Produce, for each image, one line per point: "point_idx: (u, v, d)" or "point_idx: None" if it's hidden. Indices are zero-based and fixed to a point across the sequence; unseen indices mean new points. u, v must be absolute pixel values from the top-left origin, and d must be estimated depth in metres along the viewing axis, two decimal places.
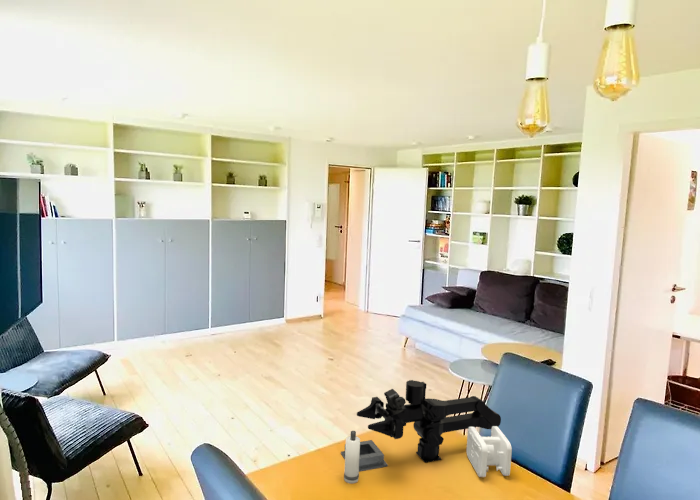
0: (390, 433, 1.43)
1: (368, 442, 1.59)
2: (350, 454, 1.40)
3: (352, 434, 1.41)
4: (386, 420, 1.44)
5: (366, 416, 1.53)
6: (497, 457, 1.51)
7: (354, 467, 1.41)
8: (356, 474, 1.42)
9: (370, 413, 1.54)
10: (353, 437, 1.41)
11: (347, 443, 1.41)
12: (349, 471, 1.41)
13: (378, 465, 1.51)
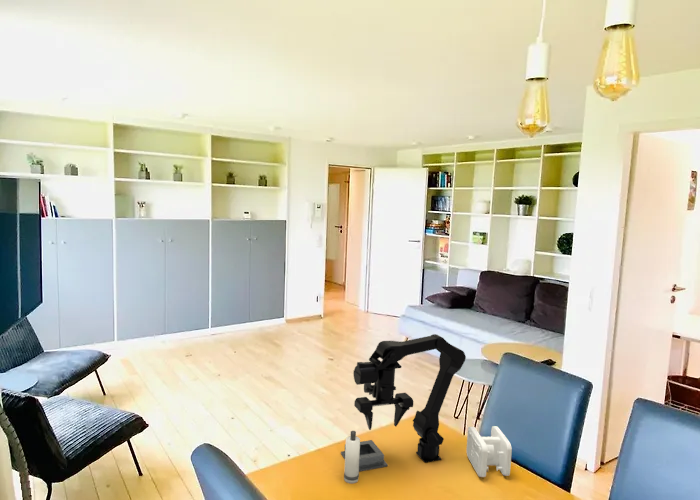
0: None
1: (368, 442, 1.59)
2: (350, 454, 1.40)
3: (352, 434, 1.41)
4: None
5: (398, 417, 1.50)
6: (497, 457, 1.51)
7: (354, 467, 1.41)
8: (356, 474, 1.42)
9: (397, 411, 1.51)
10: (353, 437, 1.41)
11: (347, 443, 1.41)
12: (349, 471, 1.41)
13: (378, 465, 1.51)
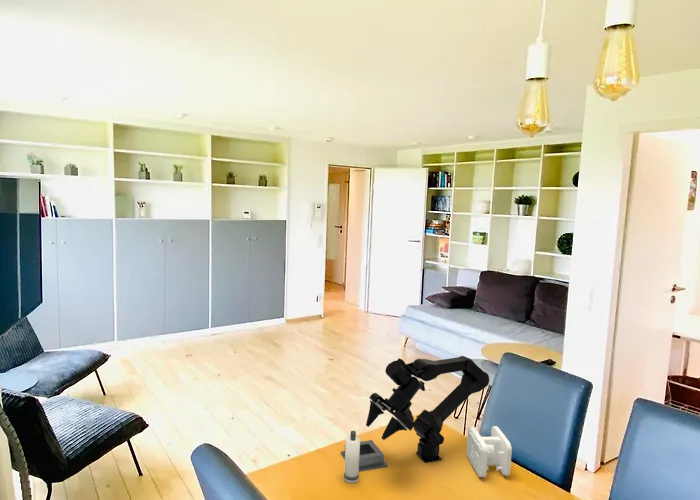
0: None
1: (368, 442, 1.59)
2: (350, 454, 1.40)
3: (352, 434, 1.41)
4: None
5: None
6: (497, 457, 1.51)
7: (354, 467, 1.41)
8: (356, 474, 1.42)
9: None
10: (353, 437, 1.41)
11: (347, 443, 1.41)
12: (349, 471, 1.41)
13: (378, 465, 1.51)
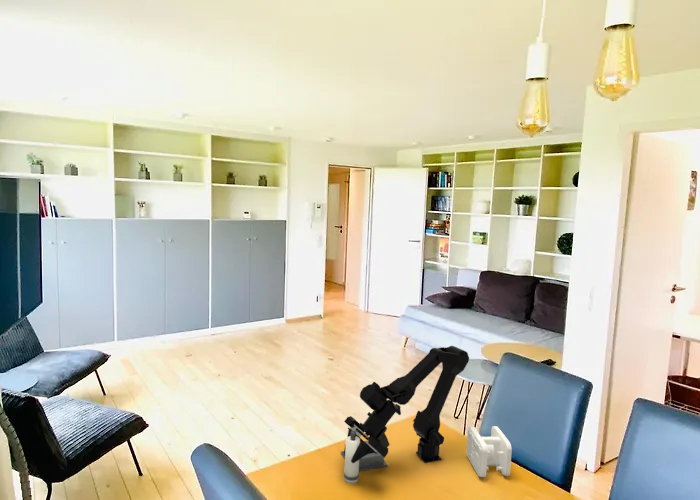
0: None
1: None
2: (350, 454, 1.40)
3: (352, 434, 1.41)
4: None
5: None
6: (497, 457, 1.51)
7: (354, 467, 1.41)
8: (356, 474, 1.42)
9: None
10: (353, 437, 1.41)
11: (347, 443, 1.41)
12: (349, 471, 1.41)
13: (378, 465, 1.51)
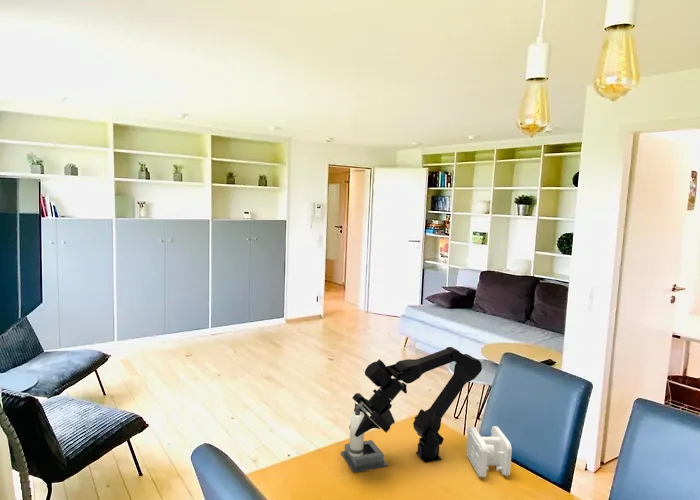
0: None
1: (368, 442, 1.59)
2: (354, 428, 1.45)
3: (356, 409, 1.45)
4: None
5: None
6: (497, 458, 1.51)
7: (358, 441, 1.45)
8: (360, 448, 1.46)
9: None
10: (357, 412, 1.45)
11: (351, 417, 1.45)
12: (353, 444, 1.45)
13: (378, 465, 1.51)
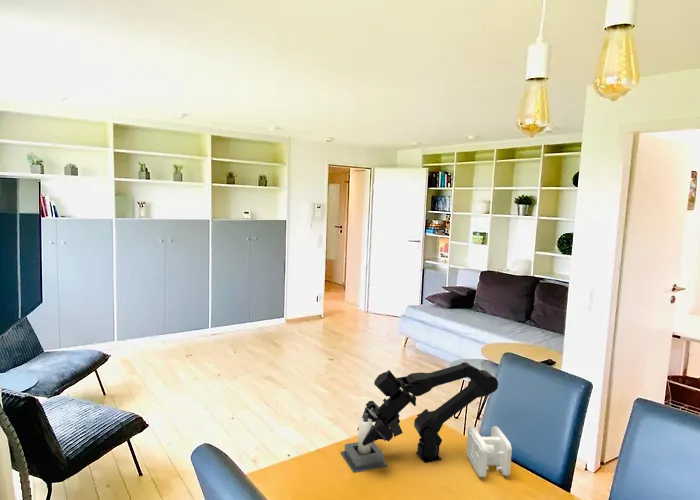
0: None
1: None
2: (361, 433, 1.52)
3: (364, 415, 1.53)
4: None
5: None
6: (497, 458, 1.51)
7: (364, 446, 1.52)
8: (366, 453, 1.52)
9: None
10: (365, 418, 1.53)
11: (359, 423, 1.53)
12: (360, 449, 1.53)
13: (378, 465, 1.51)
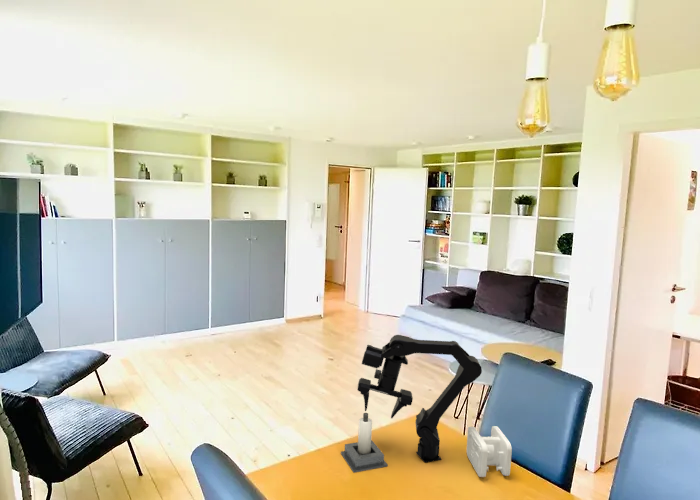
0: None
1: None
2: (361, 433, 1.52)
3: (364, 415, 1.53)
4: None
5: (395, 410, 1.56)
6: (497, 458, 1.51)
7: (364, 446, 1.52)
8: (366, 453, 1.52)
9: (396, 405, 1.57)
10: (365, 418, 1.53)
11: (359, 423, 1.53)
12: (360, 449, 1.53)
13: (378, 465, 1.51)
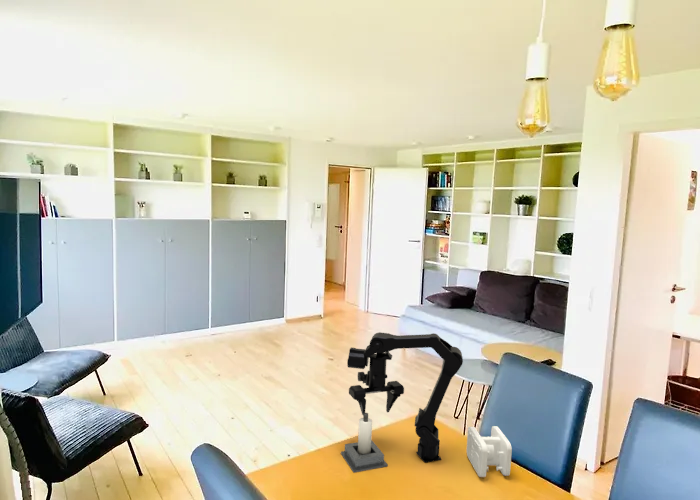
0: None
1: None
2: (361, 433, 1.52)
3: (364, 415, 1.53)
4: None
5: (390, 403, 1.60)
6: (497, 458, 1.51)
7: (364, 446, 1.52)
8: (366, 453, 1.52)
9: (389, 398, 1.61)
10: (365, 418, 1.53)
11: (359, 423, 1.53)
12: (360, 449, 1.53)
13: (378, 465, 1.51)
